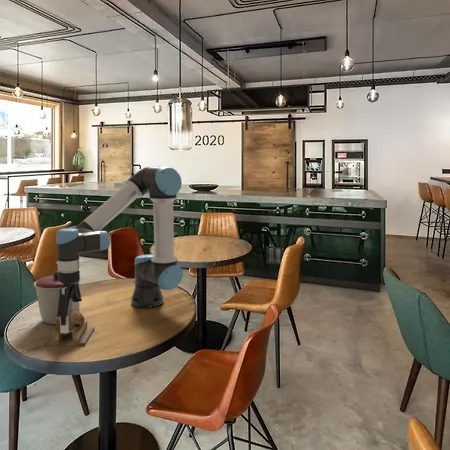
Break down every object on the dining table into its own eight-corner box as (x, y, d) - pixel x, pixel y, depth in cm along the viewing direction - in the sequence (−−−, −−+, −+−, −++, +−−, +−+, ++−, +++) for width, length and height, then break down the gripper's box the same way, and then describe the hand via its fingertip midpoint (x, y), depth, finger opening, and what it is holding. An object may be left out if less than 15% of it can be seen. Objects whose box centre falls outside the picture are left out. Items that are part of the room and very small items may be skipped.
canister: (79, 309, 175) (78, 263, 172) (85, 324, 159) (83, 274, 156) (34, 315, 167) (32, 267, 164) (36, 331, 151) (33, 279, 148)
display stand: (94, 329, 155) (94, 318, 154) (84, 345, 141) (84, 333, 140) (58, 329, 154) (57, 318, 153) (44, 345, 140) (44, 334, 139)
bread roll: (63, 341, 141) (69, 325, 138) (47, 324, 145) (52, 307, 143) (86, 332, 150) (91, 316, 147) (70, 316, 154) (75, 300, 151)
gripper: (69, 262, 155) (71, 312, 159) (45, 280, 131) (47, 339, 134) (88, 262, 156) (89, 312, 159) (68, 280, 131) (70, 339, 135)
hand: (70, 325), depth 147 cm, fingers open, 13 cm apart
